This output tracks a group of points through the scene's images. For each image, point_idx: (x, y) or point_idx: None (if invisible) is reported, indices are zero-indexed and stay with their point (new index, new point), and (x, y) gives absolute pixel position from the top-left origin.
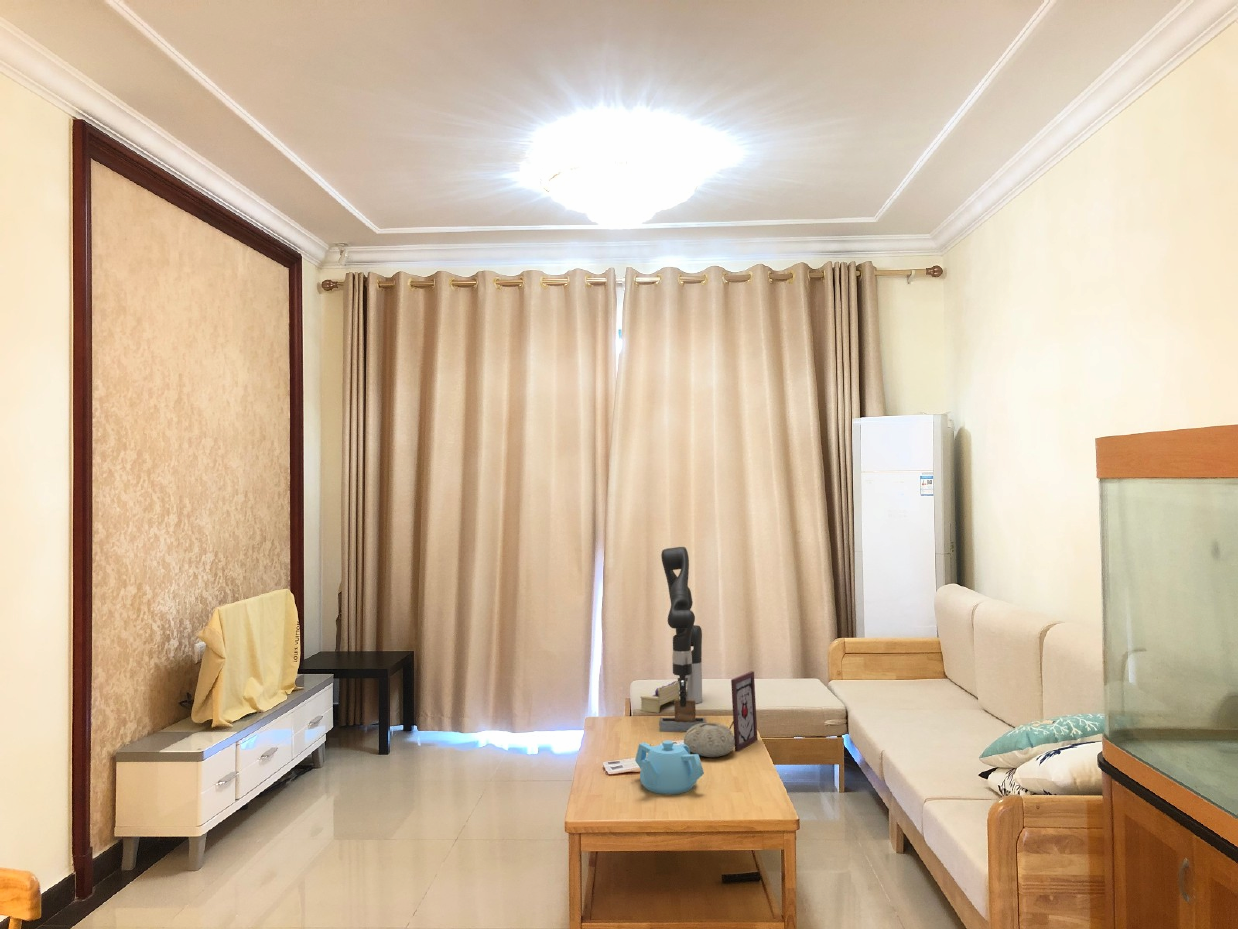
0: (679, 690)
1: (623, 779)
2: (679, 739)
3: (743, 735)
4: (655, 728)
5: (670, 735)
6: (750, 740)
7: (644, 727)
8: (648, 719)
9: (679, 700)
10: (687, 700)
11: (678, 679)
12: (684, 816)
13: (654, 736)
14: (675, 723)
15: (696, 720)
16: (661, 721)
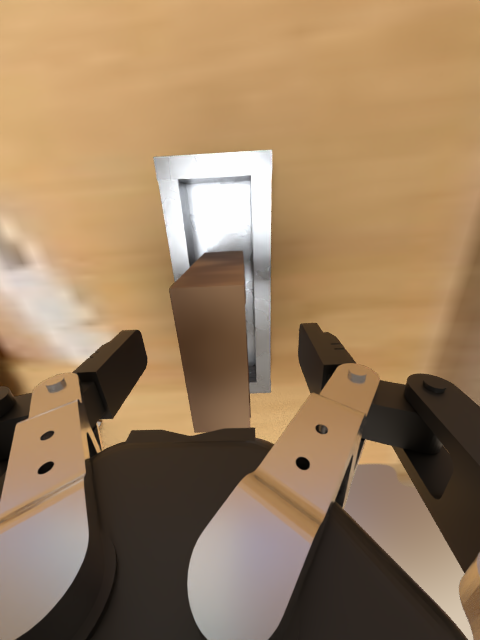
0: (31, 424)
1: None
2: (68, 278)
3: None
4: (229, 135)
5: (116, 233)
6: None
7: (246, 48)
8: (437, 59)
9: (206, 330)
10: (213, 388)
11: (187, 612)
12: None
13: (74, 144)
14: (172, 261)
15: (255, 353)
16: (173, 171)
